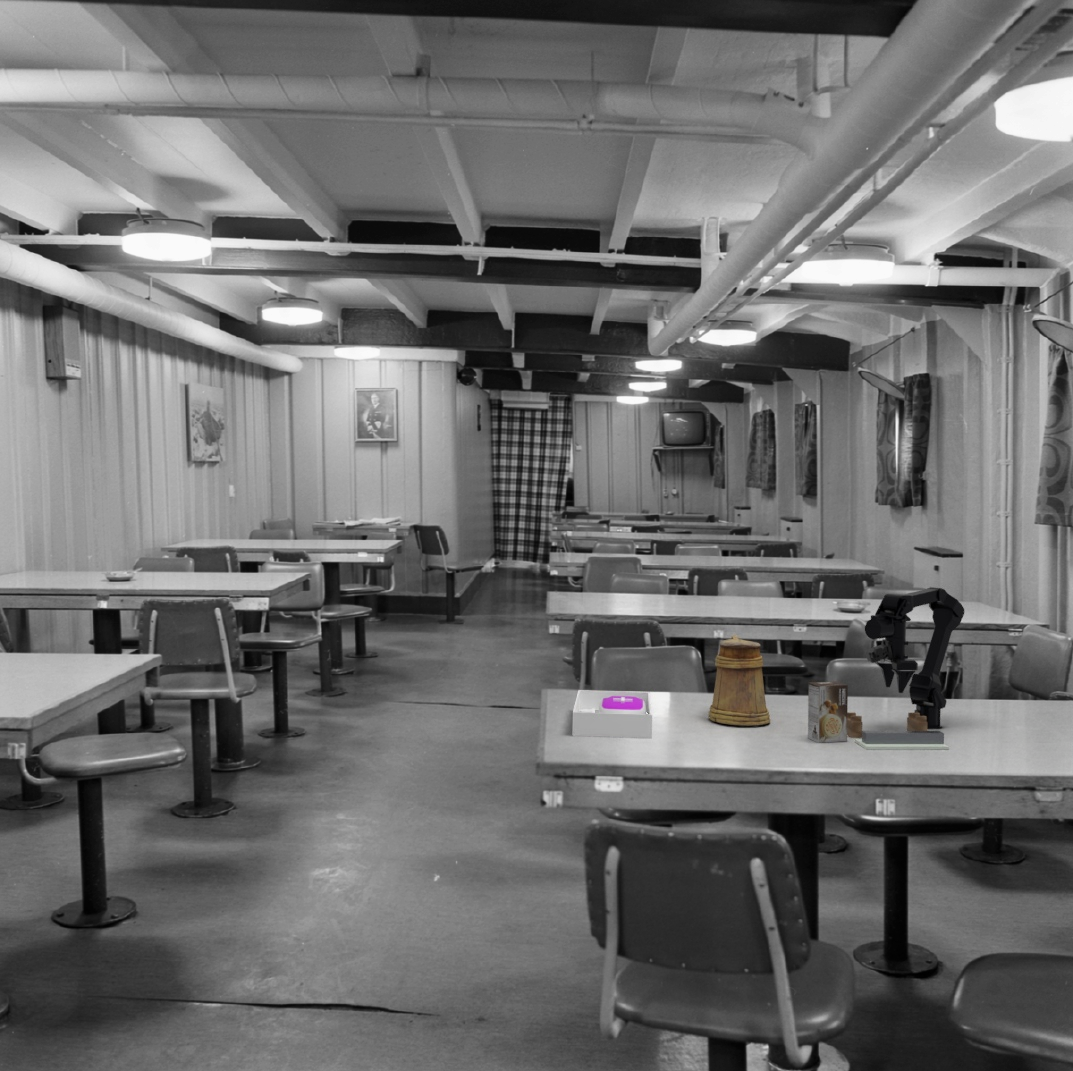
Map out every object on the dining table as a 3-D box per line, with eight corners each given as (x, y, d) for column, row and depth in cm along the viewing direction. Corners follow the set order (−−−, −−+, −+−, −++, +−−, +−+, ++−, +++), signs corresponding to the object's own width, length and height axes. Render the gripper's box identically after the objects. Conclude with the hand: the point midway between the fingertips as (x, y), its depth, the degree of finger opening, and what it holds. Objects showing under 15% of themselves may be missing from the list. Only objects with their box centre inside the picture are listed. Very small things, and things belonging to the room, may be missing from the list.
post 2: (916, 732, 307) (917, 712, 307) (927, 737, 300) (927, 717, 300) (906, 732, 307) (907, 712, 306) (916, 737, 300) (917, 717, 299)
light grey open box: (572, 737, 296) (572, 711, 296) (578, 712, 331) (578, 689, 331) (651, 739, 295) (652, 714, 294) (648, 714, 329) (649, 691, 329)
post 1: (853, 732, 306) (853, 711, 306) (862, 737, 299) (862, 716, 299) (843, 732, 306) (843, 711, 305) (851, 737, 299) (852, 716, 298)
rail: (939, 741, 292) (939, 730, 292) (943, 743, 289) (944, 733, 289) (861, 741, 291) (862, 730, 291) (865, 743, 288) (866, 733, 288)
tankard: (716, 727, 309) (718, 643, 309) (700, 711, 333) (702, 633, 332) (776, 728, 310) (778, 644, 309) (756, 712, 334) (758, 634, 333)
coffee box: (835, 736, 300) (836, 680, 299) (847, 741, 294) (849, 684, 293) (806, 738, 298) (808, 682, 297) (818, 743, 291) (819, 685, 291)
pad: (934, 741, 295) (934, 739, 295) (948, 749, 286) (949, 746, 286) (854, 741, 294) (854, 738, 294) (866, 749, 285) (866, 746, 285)
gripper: (856, 632, 315) (855, 684, 315) (880, 641, 296) (879, 696, 297) (892, 632, 315) (891, 684, 316) (919, 641, 297) (917, 696, 297)
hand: (894, 689), depth 306 cm, fingers open, 9 cm apart
